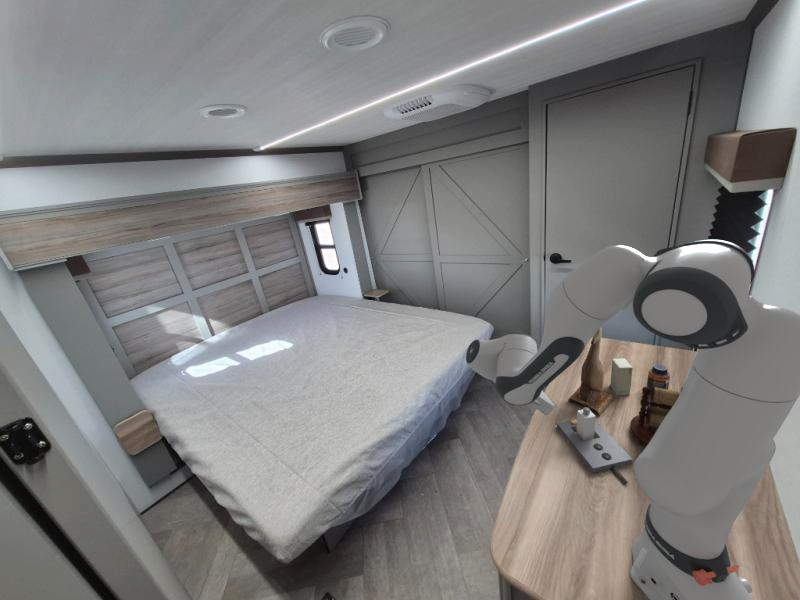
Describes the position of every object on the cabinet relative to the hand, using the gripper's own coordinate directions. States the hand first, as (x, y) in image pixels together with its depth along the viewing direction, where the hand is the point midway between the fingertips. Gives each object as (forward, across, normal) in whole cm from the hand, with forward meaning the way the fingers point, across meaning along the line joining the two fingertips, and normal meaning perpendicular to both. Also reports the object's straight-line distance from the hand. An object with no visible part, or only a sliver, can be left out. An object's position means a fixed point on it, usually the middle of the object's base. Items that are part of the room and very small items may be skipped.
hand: (544, 395), depth 92 cm
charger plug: (+24, 0, +5) cm, 25 cm away
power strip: (+24, -6, +5) cm, 26 cm away
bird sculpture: (+33, +14, -3) cm, 36 cm away
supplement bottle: (+49, +10, -20) cm, 54 cm away
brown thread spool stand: (+39, -6, -9) cm, 40 cm away
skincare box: (+42, +16, -13) cm, 47 cm away
